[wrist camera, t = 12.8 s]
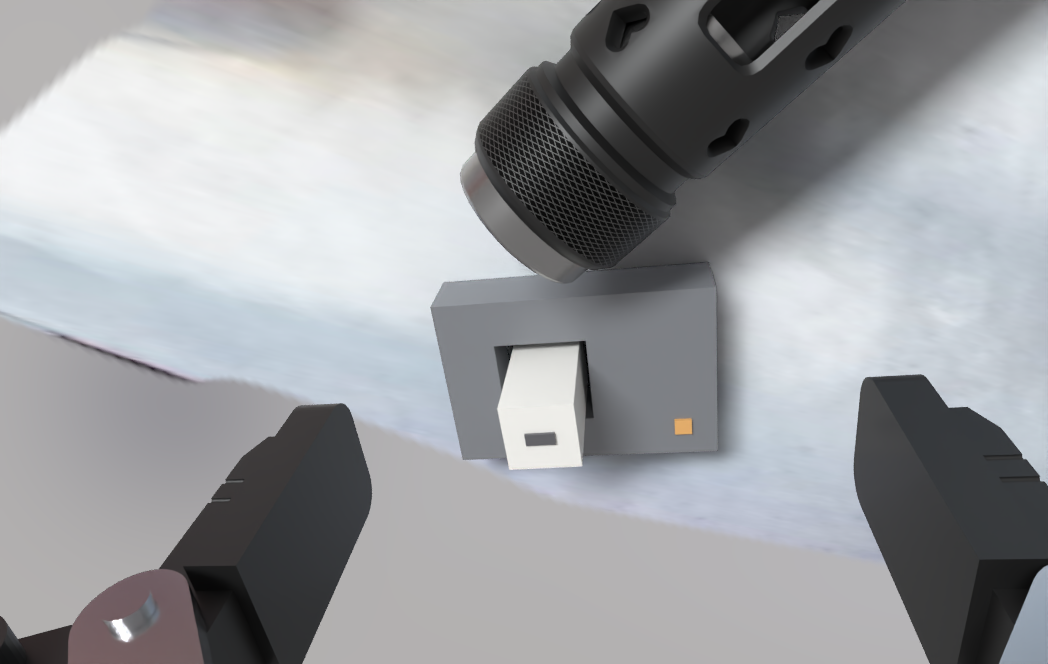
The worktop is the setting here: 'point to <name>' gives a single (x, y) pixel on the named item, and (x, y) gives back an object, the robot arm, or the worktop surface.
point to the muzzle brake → (642, 118)
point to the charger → (544, 405)
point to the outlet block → (590, 354)
